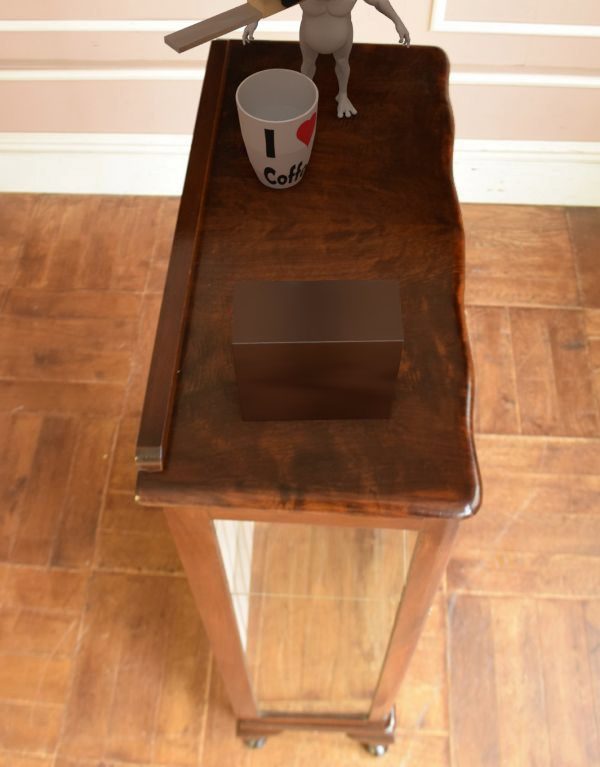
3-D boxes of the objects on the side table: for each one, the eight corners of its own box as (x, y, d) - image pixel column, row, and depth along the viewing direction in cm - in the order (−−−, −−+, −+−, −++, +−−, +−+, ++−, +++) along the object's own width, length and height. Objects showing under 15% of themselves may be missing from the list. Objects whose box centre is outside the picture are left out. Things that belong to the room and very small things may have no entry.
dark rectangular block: (385, 361, 71) (398, 278, 61) (390, 418, 68) (404, 340, 58) (244, 364, 71) (233, 281, 61) (242, 421, 68) (231, 344, 58)
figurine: (245, 125, 89) (232, -29, 73) (249, 87, 92) (238, -68, 77) (402, 129, 88) (422, -26, 73) (400, 90, 92) (419, -65, 76)
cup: (258, 207, 82) (252, 131, 73) (232, 157, 86) (224, 80, 77) (328, 186, 83) (331, 109, 75) (300, 138, 87) (300, 60, 79)
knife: (304, -16, 71) (307, -50, 68) (321, -6, 70) (324, -40, 67) (163, 42, 64) (160, 6, 61) (179, 54, 63) (177, 19, 60)
